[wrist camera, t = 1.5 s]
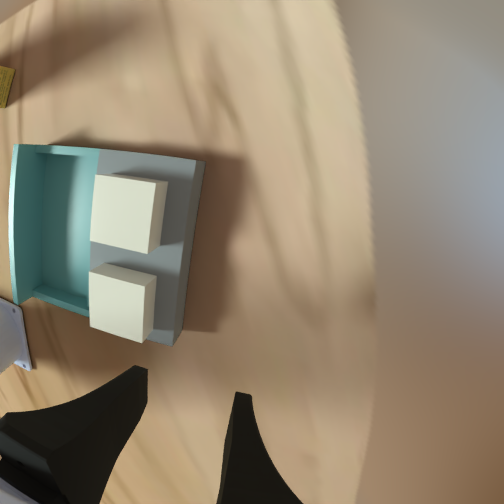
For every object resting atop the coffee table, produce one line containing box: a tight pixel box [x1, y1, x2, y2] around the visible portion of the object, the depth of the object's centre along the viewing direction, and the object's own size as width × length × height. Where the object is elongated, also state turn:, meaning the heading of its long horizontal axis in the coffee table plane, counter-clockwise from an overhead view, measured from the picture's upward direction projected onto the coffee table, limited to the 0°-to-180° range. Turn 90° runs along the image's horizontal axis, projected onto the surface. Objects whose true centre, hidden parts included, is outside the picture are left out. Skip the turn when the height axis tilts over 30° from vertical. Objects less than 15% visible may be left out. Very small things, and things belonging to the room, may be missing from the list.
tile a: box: [89, 263, 157, 343], centre depth 19 cm, size 4×4×2 cm
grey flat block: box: [90, 149, 206, 346], centre depth 21 cm, size 7×12×2 cm, turn 169°
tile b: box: [90, 174, 168, 254], centre depth 18 cm, size 4×4×2 cm
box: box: [9, 144, 110, 318], centre depth 20 cm, size 7×12×4 cm, turn 169°
